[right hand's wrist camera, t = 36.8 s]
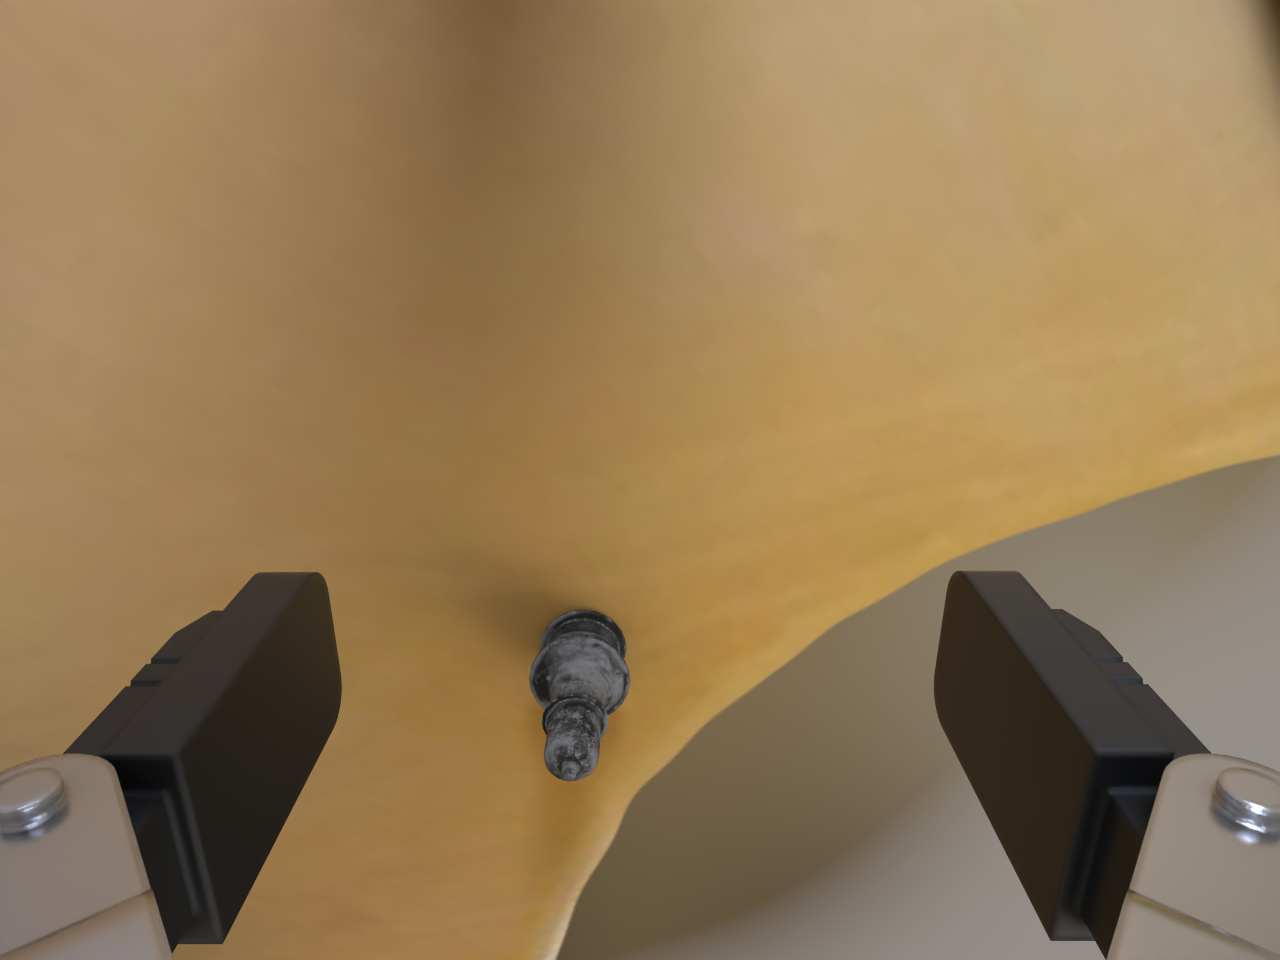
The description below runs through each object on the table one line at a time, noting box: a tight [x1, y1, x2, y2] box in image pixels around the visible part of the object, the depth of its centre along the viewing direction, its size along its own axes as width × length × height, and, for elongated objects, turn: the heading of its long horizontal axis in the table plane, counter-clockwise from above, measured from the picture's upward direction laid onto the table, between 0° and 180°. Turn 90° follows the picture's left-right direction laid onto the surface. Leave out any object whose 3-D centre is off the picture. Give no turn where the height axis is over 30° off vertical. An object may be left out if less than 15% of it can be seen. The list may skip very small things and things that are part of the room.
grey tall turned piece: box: [529, 610, 630, 781], centre depth 49 cm, size 6×6×12 cm
